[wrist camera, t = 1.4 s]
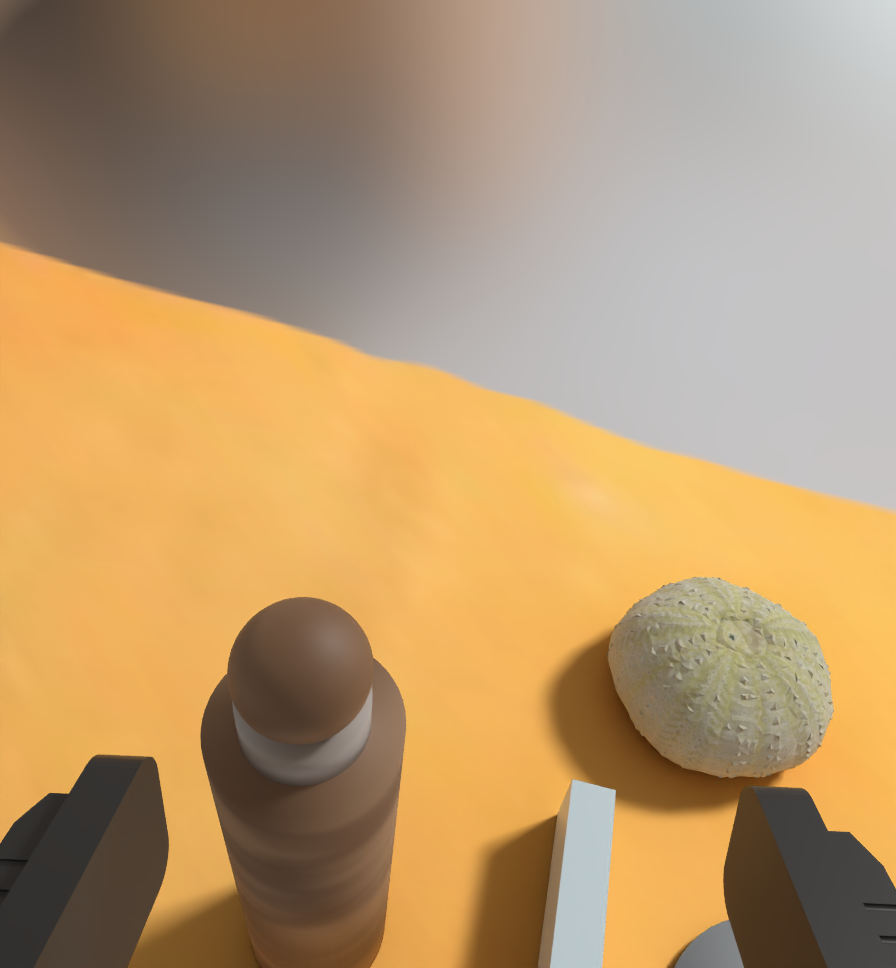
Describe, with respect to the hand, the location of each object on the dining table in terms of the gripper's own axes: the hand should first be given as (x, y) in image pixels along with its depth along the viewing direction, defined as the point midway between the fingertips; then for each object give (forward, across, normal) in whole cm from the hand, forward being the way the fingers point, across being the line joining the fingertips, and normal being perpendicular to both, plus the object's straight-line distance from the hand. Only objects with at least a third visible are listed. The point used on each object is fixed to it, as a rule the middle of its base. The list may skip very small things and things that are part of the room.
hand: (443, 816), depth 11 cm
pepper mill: (+11, +4, +17) cm, 21 cm away
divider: (+10, -4, +18) cm, 21 cm away
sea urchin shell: (+22, -11, +15) cm, 28 cm away
